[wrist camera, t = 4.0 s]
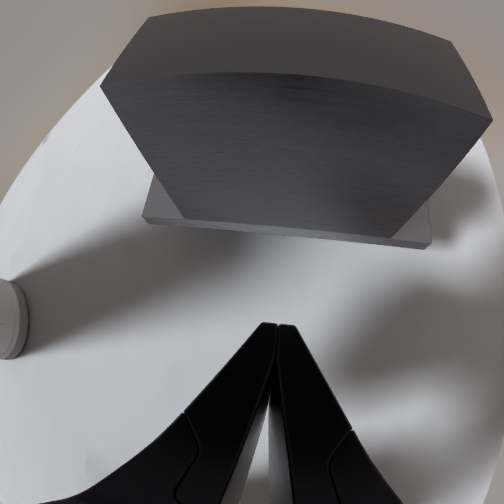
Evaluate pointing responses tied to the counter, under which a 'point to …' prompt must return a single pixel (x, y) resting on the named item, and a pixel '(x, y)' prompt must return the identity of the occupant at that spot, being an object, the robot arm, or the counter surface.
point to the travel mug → (12, 320)
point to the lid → (295, 121)
